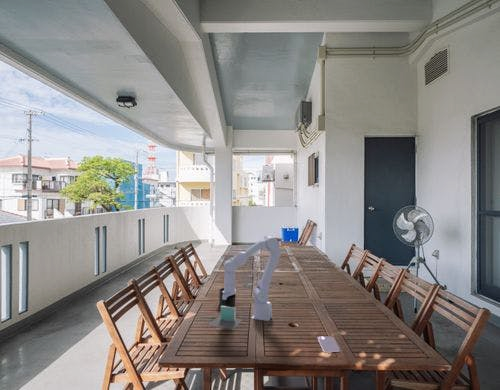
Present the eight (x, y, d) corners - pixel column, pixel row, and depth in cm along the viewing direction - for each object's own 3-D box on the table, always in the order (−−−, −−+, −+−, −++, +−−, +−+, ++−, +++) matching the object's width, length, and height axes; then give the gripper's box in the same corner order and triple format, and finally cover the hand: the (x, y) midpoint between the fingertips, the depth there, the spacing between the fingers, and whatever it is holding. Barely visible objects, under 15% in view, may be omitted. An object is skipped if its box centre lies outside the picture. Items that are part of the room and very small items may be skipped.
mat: (242, 320, 175) (242, 319, 175) (233, 330, 163) (233, 329, 163) (218, 316, 179) (218, 315, 179) (207, 326, 167) (207, 325, 167)
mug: (217, 309, 191) (217, 293, 191) (220, 301, 203) (221, 287, 203) (233, 309, 190) (233, 294, 190) (236, 302, 202) (236, 287, 202)
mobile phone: (323, 351, 141) (316, 335, 156) (323, 353, 141) (316, 337, 156) (341, 351, 141) (333, 335, 156) (341, 353, 141) (333, 337, 156)
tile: (235, 320, 173) (235, 307, 173) (234, 321, 172) (234, 308, 172) (221, 318, 176) (221, 305, 176) (220, 319, 174) (220, 306, 174)
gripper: (228, 279, 183) (227, 303, 184) (216, 286, 170) (216, 312, 170) (240, 280, 181) (239, 305, 181) (229, 287, 167) (229, 314, 168)
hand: (229, 309), depth 176 cm, fingers closed
